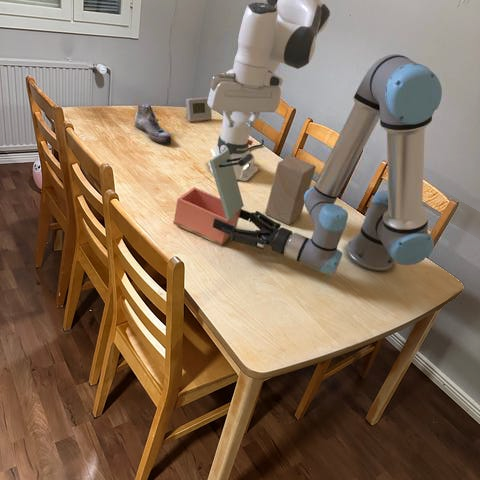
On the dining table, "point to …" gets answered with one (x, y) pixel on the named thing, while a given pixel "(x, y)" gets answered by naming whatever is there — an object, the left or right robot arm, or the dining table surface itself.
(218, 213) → the chest
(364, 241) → the right robot arm
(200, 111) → the digital clock
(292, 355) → the dining table surface
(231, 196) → the lid
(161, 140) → the shoe
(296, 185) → the wooden block
